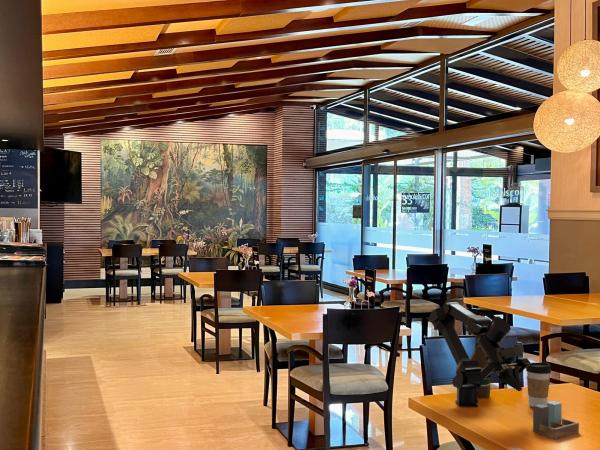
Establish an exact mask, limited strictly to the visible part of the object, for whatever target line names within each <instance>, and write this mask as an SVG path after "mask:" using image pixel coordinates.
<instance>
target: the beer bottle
mask: <svg viewBox="0 0 600 450" xmlns="http://www.w3.org/2000/svg"><path fill="white" fill-rule="evenodd" d="M481 336H482V335H475V341H474V342H475V343H474V345H475V344H476V339H478V338H480V337H481ZM473 351H474V352H473V353H472V355H471V356H470V357H469V358H470V359H471V360H477V361H478V364H479V366H480V367H481V368H482V369H483V368H484V367H485V366H486V365H487V364H488V363H491V361H487V360H486V359H485V358H486V357H487V355H486V354H485V352H484V351H483V349H482V348H481V346H480V347H475V346H474V350H473ZM482 369H481V370H482ZM491 374H492V373H491ZM491 374H490V375H491ZM491 376H492V375H491ZM491 376H490V378H489V379H485V380H484V379H483V380H482V384H481V388H477V392H478V399H487V398H489V397H490V396H491Z"/></svg>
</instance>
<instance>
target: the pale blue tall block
mask: <svg viewBox="0 0 600 450" xmlns="http://www.w3.org/2000/svg"><path fill="white" fill-rule="evenodd" d="M562 403H563V402H558V401H555V400H551V401H547V405H546V406H549V427H551V422H552V421H553V422H556V423H560V424H562V415H563V414H562V410H563V409H562V406H563V405H562Z"/></svg>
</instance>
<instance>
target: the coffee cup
mask: <svg viewBox="0 0 600 450" xmlns="http://www.w3.org/2000/svg"><path fill="white" fill-rule="evenodd" d="M530 363H531V364H530V365H528V366H527V367H526V368H525V371H526V373H527V374H526V382H527V384H526V385H527V395H528V406H529V407H531V408H533V406H534V405H538V404H543V405H547V402H548V397H549V388H550V382H551V373H552V368H551V366H552V365H551V363H548V362H530Z"/></svg>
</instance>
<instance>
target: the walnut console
mask: <svg viewBox="0 0 600 450" xmlns="http://www.w3.org/2000/svg"><path fill="white" fill-rule="evenodd" d="M579 430H580V423H579V422H576V421H573V420H569V419H566V418H561V424H560V423H556V422H553V421H552V422H551V427H548V426H545V425H542V424H540V433H539V435H540V436H543V437H546V438H549V439H553V440H559V439H563V438H566V437H569V436H573V435H577V434H579V432H580V431H579Z"/></svg>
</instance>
